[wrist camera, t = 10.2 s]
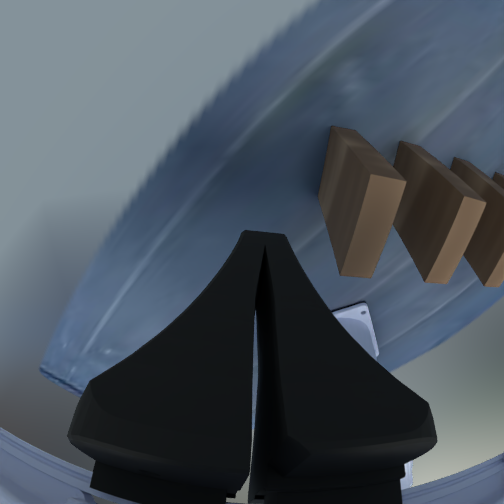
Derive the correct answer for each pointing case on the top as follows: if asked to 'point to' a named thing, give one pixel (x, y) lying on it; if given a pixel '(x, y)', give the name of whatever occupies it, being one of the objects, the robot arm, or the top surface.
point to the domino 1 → (358, 201)
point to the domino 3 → (485, 225)
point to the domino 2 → (434, 213)
